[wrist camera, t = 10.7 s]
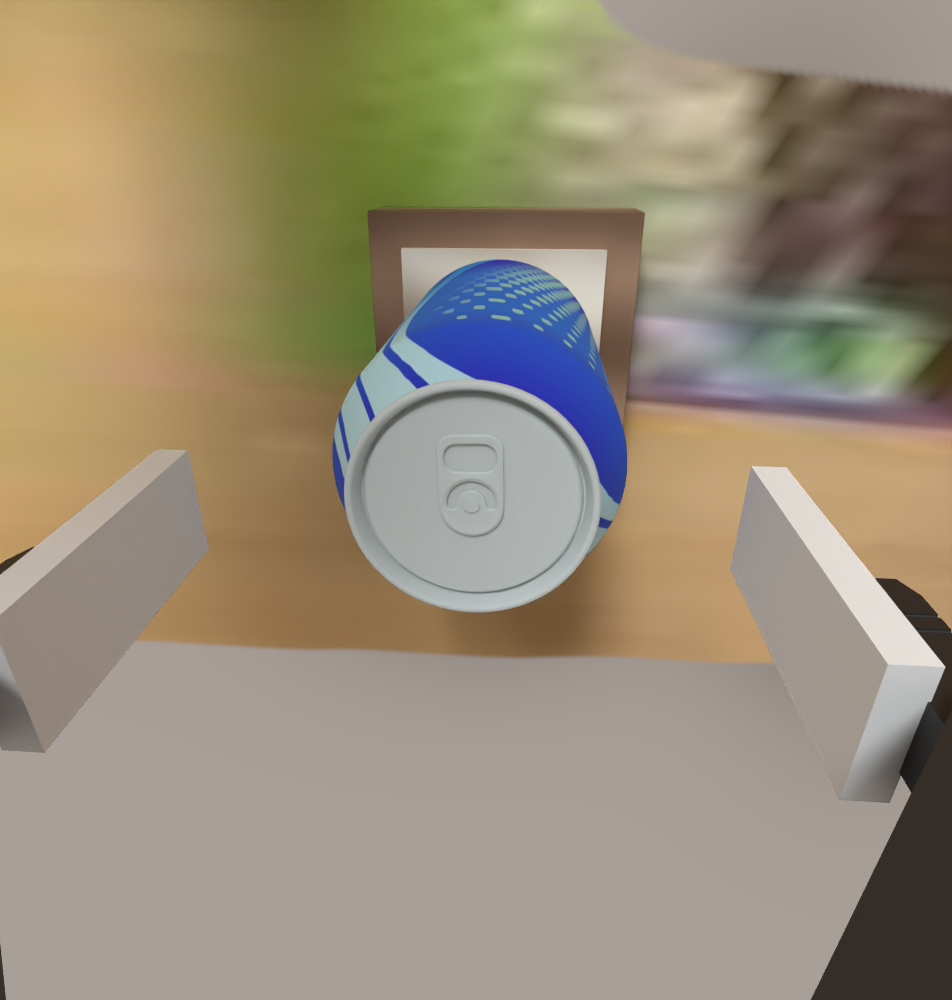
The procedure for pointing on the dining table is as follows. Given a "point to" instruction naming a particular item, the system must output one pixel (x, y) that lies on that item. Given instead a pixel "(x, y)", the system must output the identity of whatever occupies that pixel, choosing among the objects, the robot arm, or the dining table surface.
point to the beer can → (482, 442)
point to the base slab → (519, 237)
